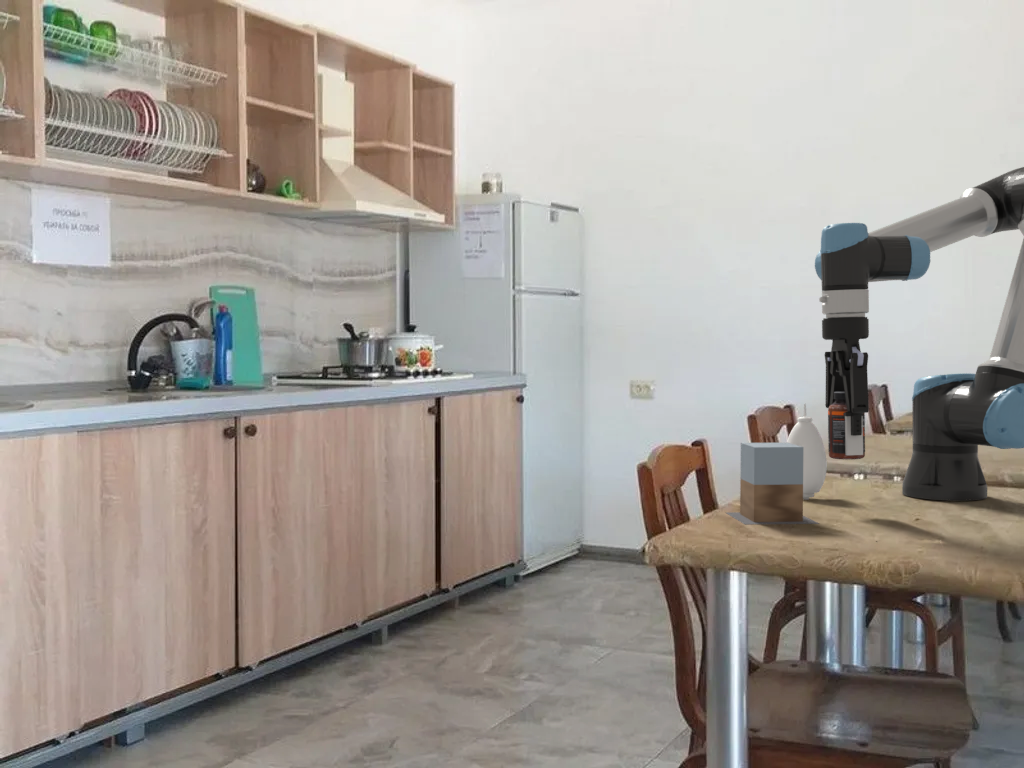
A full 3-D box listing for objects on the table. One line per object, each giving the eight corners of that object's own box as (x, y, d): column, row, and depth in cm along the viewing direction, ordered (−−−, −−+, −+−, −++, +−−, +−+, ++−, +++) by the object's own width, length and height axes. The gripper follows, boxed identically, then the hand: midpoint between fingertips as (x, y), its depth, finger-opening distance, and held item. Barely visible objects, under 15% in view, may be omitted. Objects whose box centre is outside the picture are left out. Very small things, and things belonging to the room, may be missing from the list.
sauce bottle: (810, 503, 199) (811, 405, 198) (774, 498, 204) (775, 403, 204) (834, 499, 204) (835, 403, 203) (798, 494, 210) (799, 401, 209)
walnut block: (787, 513, 182) (787, 478, 182) (802, 521, 174) (803, 484, 174) (740, 514, 182) (740, 478, 182) (753, 522, 174) (754, 484, 174)
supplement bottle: (867, 460, 180) (866, 392, 180) (830, 460, 182) (829, 392, 181) (863, 456, 186) (862, 390, 186) (827, 456, 188) (826, 390, 187)
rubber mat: (794, 515, 185) (794, 511, 185) (819, 527, 173) (819, 523, 173) (725, 516, 184) (725, 512, 184) (744, 528, 172) (744, 524, 172)
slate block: (787, 478, 182) (787, 442, 182) (803, 484, 174) (803, 447, 174) (740, 478, 182) (740, 442, 182) (754, 484, 174) (754, 447, 174)
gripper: (804, 317, 192) (806, 447, 193) (843, 315, 173) (845, 460, 174) (846, 316, 193) (847, 446, 194) (889, 314, 174) (891, 458, 175)
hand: (846, 452), depth 184 cm, fingers closed on supplement bottle, 6 cm apart
